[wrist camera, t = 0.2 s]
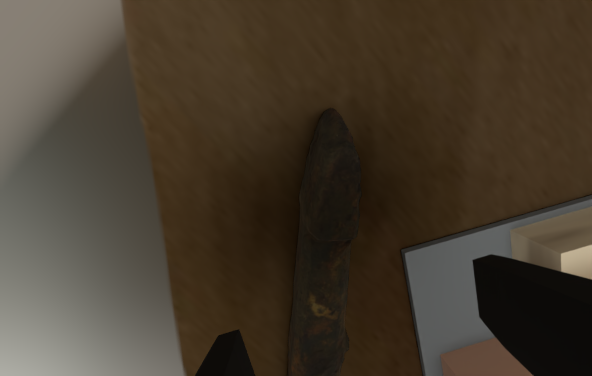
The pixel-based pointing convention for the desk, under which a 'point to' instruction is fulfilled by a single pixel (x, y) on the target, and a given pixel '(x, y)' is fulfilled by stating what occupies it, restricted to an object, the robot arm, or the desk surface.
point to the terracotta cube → (482, 361)
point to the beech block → (557, 243)
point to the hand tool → (324, 250)
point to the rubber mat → (459, 283)
